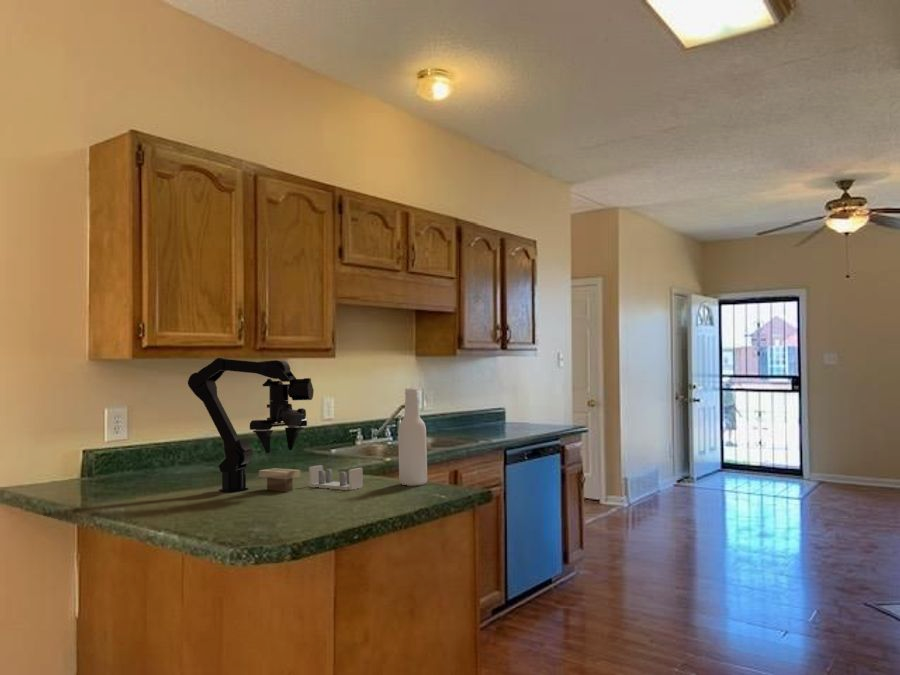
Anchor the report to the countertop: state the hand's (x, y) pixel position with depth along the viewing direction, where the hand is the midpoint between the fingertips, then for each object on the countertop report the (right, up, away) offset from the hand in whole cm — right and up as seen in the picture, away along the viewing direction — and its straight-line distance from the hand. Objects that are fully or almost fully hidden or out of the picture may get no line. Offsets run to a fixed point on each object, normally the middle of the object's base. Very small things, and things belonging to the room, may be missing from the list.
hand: (279, 451), depth 213 cm
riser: (0, -12, -1) cm, 12 cm away
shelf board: (0, -8, -1) cm, 8 cm away
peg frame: (+17, -11, +2) cm, 21 cm away
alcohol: (+41, -11, +4) cm, 43 cm away
